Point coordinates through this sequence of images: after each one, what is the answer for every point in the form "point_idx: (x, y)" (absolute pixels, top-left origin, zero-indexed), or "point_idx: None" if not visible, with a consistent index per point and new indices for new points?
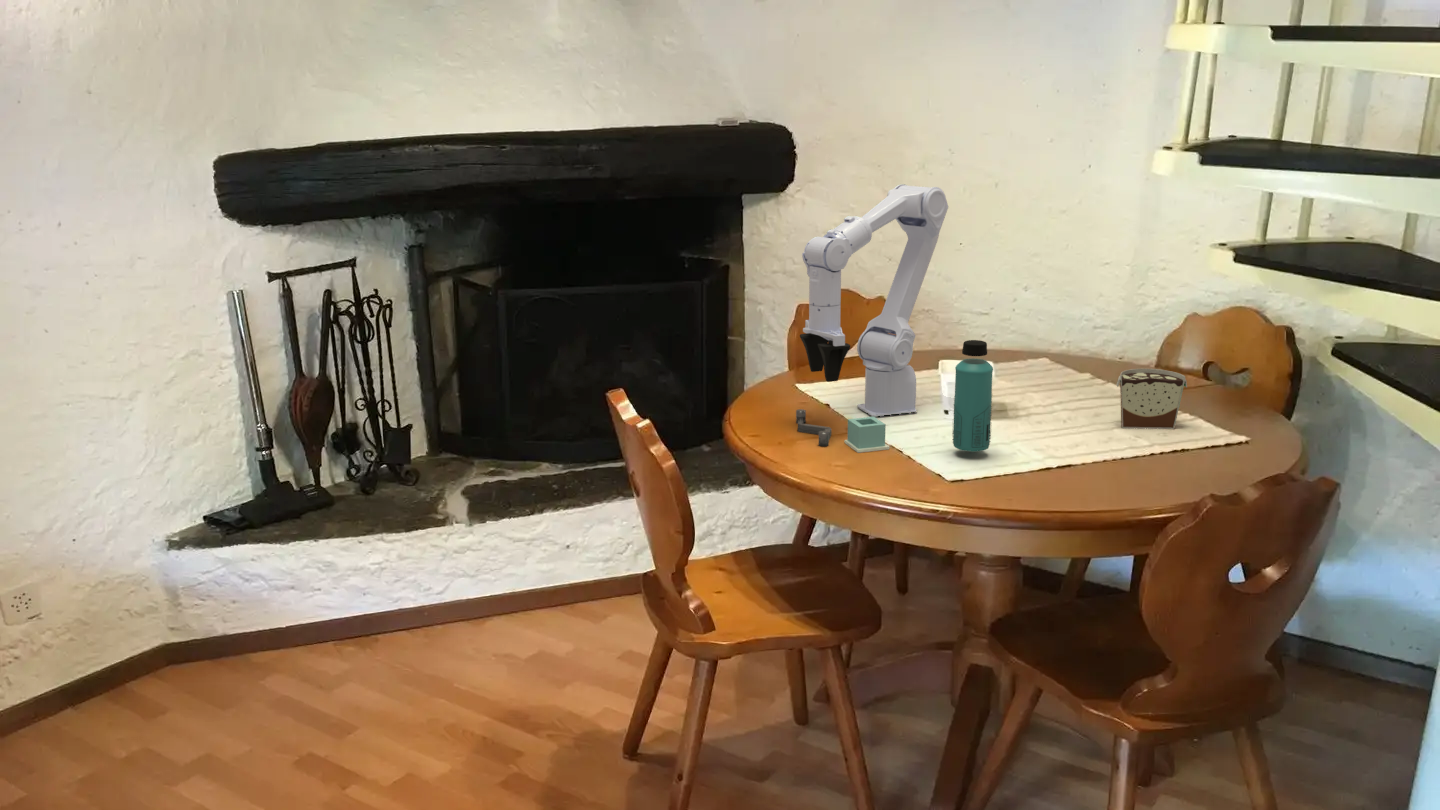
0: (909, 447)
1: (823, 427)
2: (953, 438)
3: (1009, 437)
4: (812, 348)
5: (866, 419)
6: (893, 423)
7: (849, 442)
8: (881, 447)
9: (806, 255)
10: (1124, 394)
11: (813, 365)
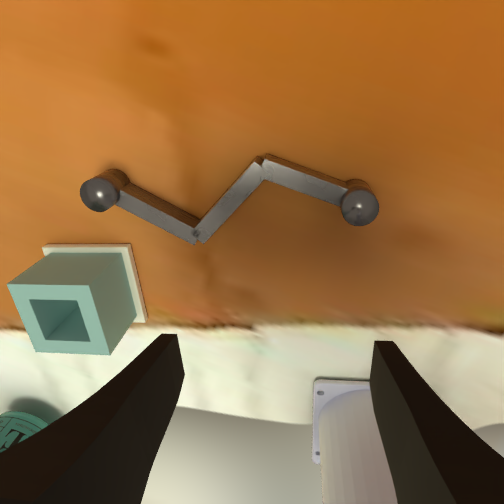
0: (83, 354)
1: (205, 225)
2: (6, 425)
3: None
4: (421, 475)
5: (88, 329)
6: (259, 395)
7: (105, 251)
8: None
9: None
10: None
11: (380, 373)
